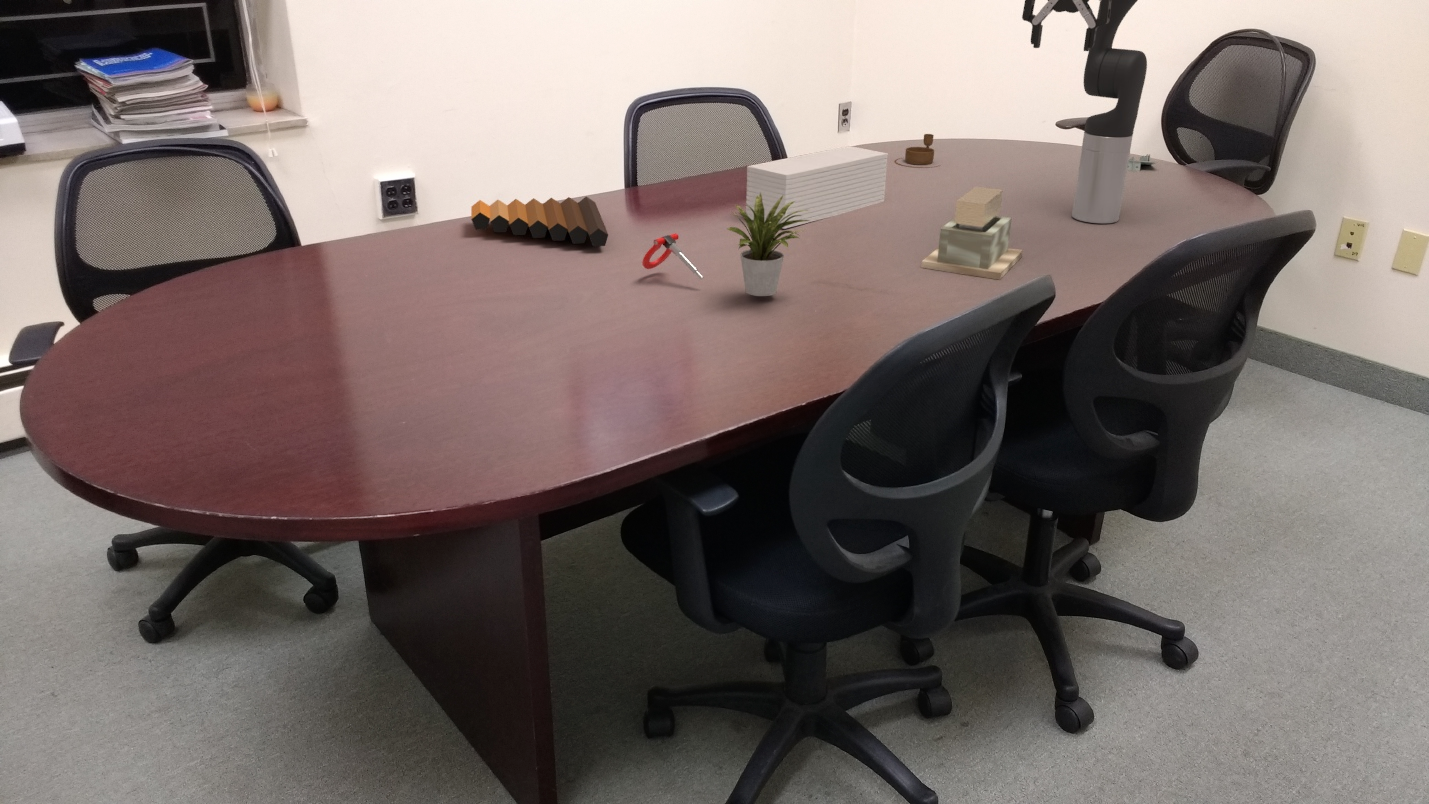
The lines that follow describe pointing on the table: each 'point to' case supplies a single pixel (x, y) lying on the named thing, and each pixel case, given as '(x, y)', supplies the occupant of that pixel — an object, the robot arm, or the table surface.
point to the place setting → (920, 153)
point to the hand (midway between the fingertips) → (1061, 49)
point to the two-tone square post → (978, 209)
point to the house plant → (763, 247)
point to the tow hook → (668, 253)
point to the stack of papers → (818, 183)
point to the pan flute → (544, 219)
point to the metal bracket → (1139, 163)
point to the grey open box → (974, 250)
